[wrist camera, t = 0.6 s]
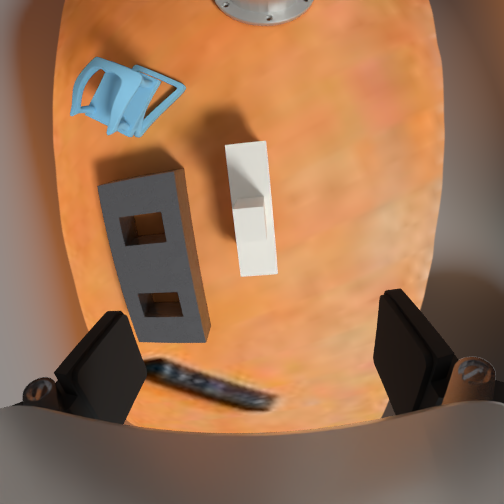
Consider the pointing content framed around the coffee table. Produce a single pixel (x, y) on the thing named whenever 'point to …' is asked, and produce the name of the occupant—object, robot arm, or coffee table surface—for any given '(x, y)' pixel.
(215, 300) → the coffee table surface
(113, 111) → the chair
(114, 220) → the slotted plate
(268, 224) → the white stepped block
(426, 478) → the robot arm
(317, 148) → the coffee table surface
